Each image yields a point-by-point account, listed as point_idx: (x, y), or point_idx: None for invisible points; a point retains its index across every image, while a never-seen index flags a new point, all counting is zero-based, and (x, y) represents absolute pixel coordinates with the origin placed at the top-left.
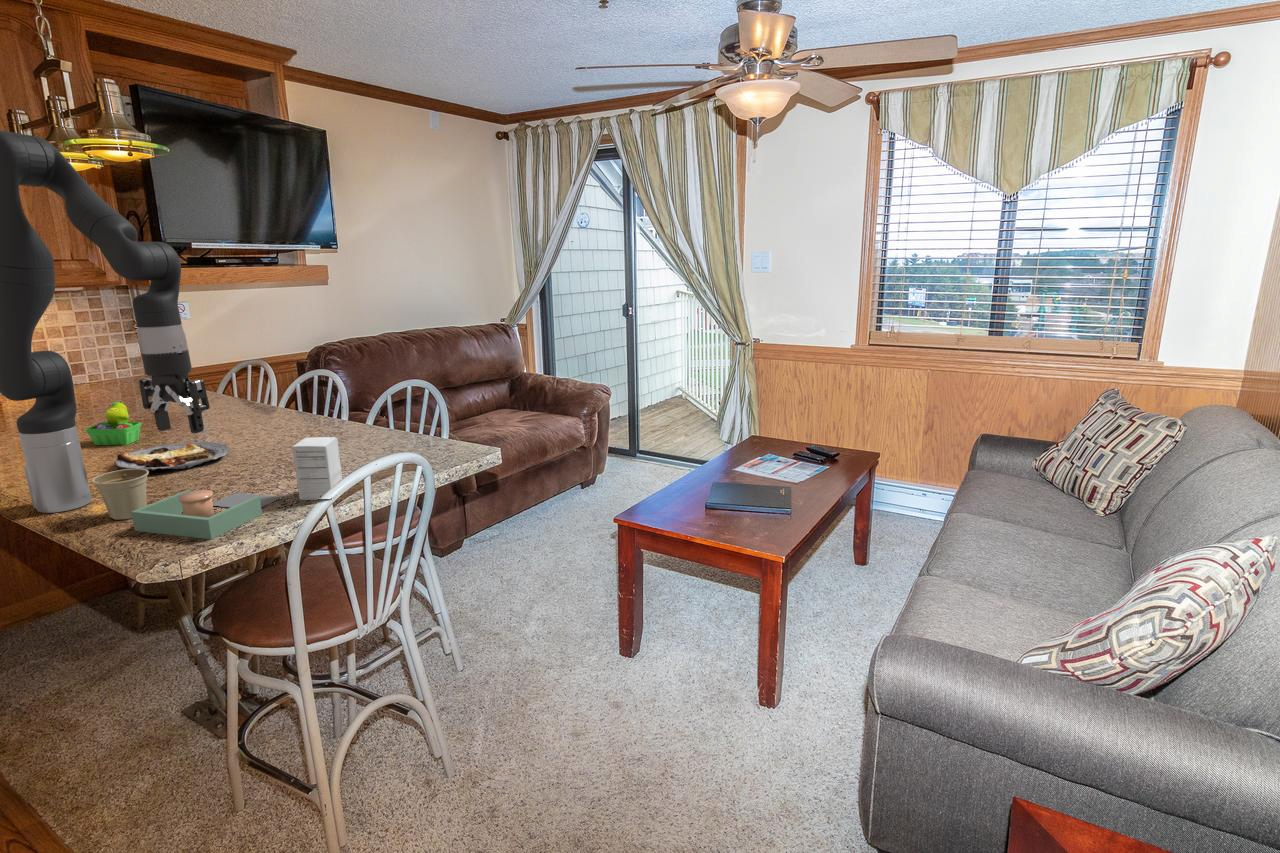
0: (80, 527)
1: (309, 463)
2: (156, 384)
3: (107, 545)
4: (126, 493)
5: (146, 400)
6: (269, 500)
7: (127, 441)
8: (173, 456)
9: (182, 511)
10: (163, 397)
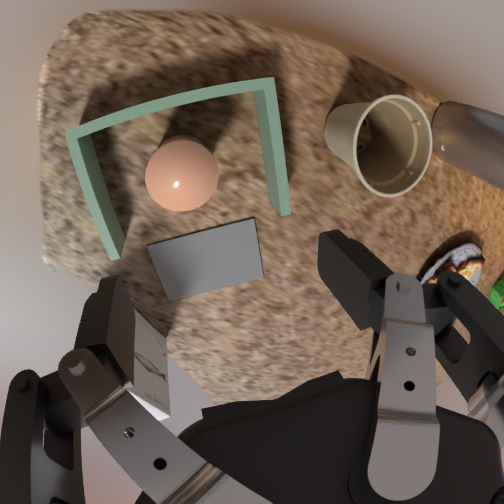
0: (365, 64)
1: None
2: (450, 466)
3: (237, 18)
4: (349, 121)
5: (466, 309)
6: (171, 283)
7: (493, 289)
8: None
9: (266, 175)
10: (350, 400)
